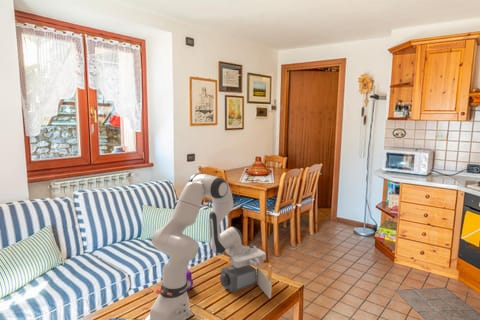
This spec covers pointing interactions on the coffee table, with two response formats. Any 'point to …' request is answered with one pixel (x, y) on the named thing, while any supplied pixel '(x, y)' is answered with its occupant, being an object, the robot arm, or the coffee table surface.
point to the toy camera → (189, 280)
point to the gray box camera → (238, 277)
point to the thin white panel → (264, 280)
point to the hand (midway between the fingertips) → (257, 264)
